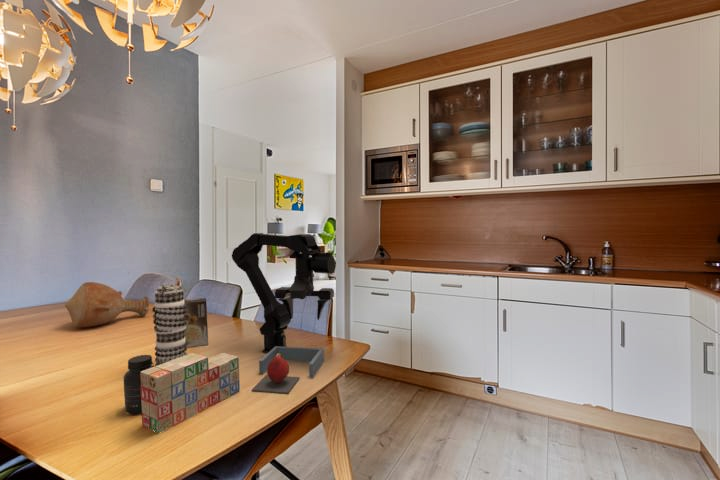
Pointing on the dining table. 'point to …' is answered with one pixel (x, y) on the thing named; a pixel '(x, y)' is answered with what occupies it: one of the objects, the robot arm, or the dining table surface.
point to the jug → (100, 305)
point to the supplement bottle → (135, 383)
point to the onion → (278, 369)
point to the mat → (276, 385)
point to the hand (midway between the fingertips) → (304, 319)
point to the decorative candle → (169, 323)
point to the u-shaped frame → (295, 357)
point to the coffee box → (196, 322)
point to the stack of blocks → (186, 388)
